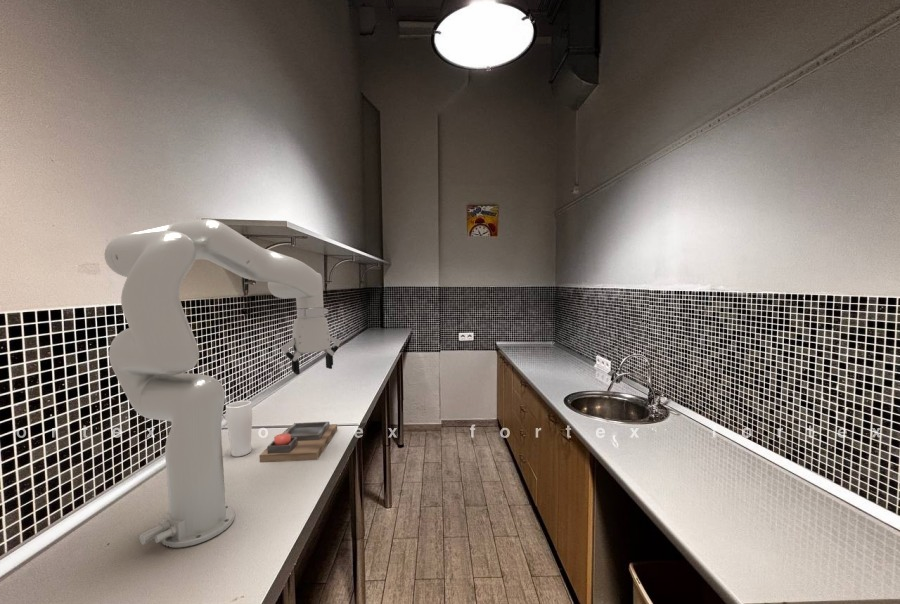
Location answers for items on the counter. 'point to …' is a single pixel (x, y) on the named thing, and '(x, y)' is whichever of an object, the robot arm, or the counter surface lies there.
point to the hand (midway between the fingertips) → (313, 370)
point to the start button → (282, 439)
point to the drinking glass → (239, 427)
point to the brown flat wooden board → (301, 442)
